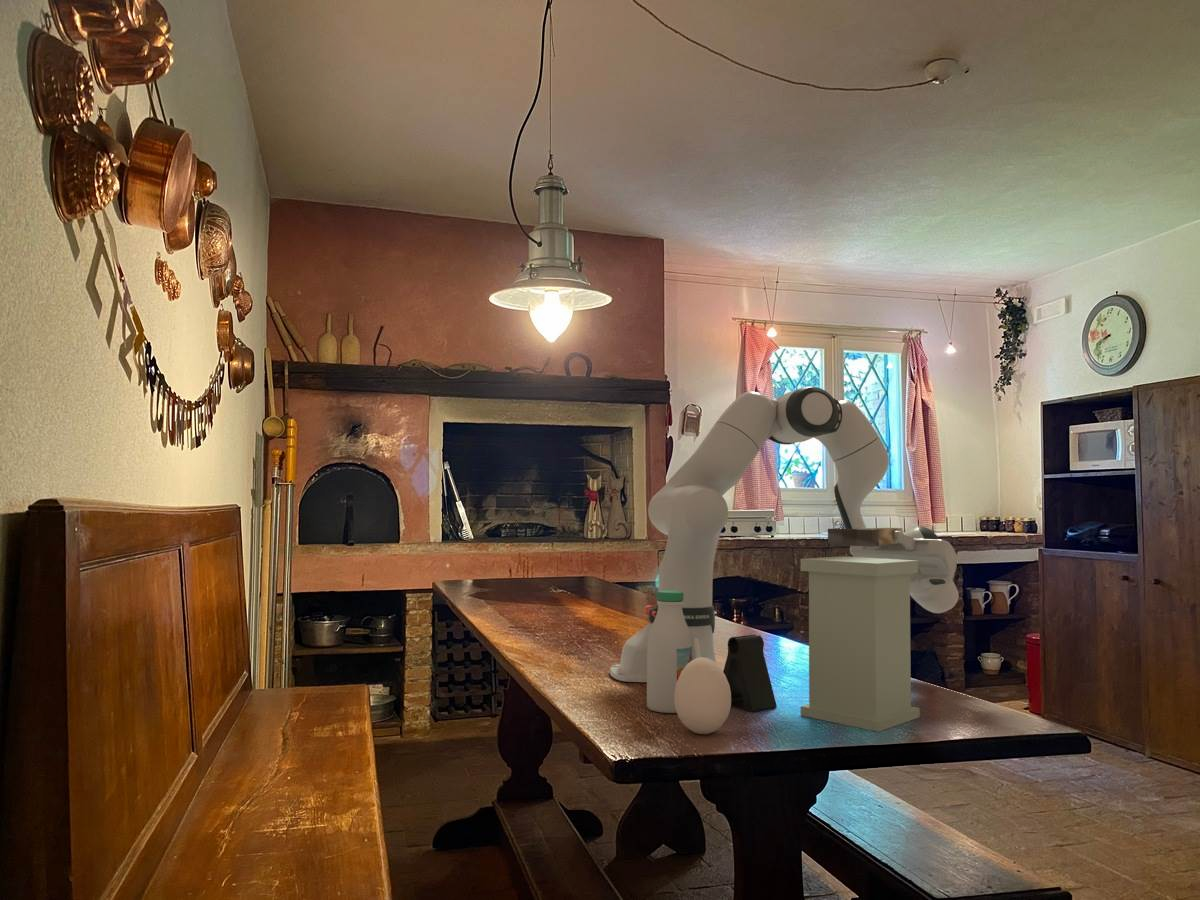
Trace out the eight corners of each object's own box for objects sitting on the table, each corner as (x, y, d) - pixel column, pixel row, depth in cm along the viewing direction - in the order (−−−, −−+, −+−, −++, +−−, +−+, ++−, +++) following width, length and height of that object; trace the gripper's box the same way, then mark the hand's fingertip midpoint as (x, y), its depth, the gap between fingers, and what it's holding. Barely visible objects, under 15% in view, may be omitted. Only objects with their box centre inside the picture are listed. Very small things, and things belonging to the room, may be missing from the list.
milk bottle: (661, 716, 142) (662, 593, 144) (638, 706, 149) (639, 589, 150) (700, 711, 146) (701, 592, 147) (676, 702, 153) (677, 588, 154)
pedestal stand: (843, 702, 154) (843, 556, 156) (919, 717, 144) (917, 560, 146) (800, 715, 144) (800, 558, 146) (878, 731, 134) (877, 563, 136)
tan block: (874, 542, 175) (874, 527, 175) (917, 543, 169) (917, 528, 169) (827, 544, 162) (827, 528, 163) (872, 546, 156) (872, 529, 156)
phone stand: (776, 708, 149) (776, 638, 150) (752, 712, 146) (752, 640, 146) (739, 698, 156) (739, 631, 157) (715, 702, 153) (715, 634, 154)
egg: (671, 725, 136) (672, 652, 137) (726, 726, 136) (726, 653, 137) (677, 740, 127) (677, 662, 128) (735, 741, 128) (735, 663, 128)
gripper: (870, 550, 185) (841, 518, 178) (965, 555, 171) (938, 520, 163) (863, 577, 183) (833, 545, 175) (959, 583, 168) (931, 550, 160)
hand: (885, 533), depth 169 cm, fingers closed on tan block, 3 cm apart
